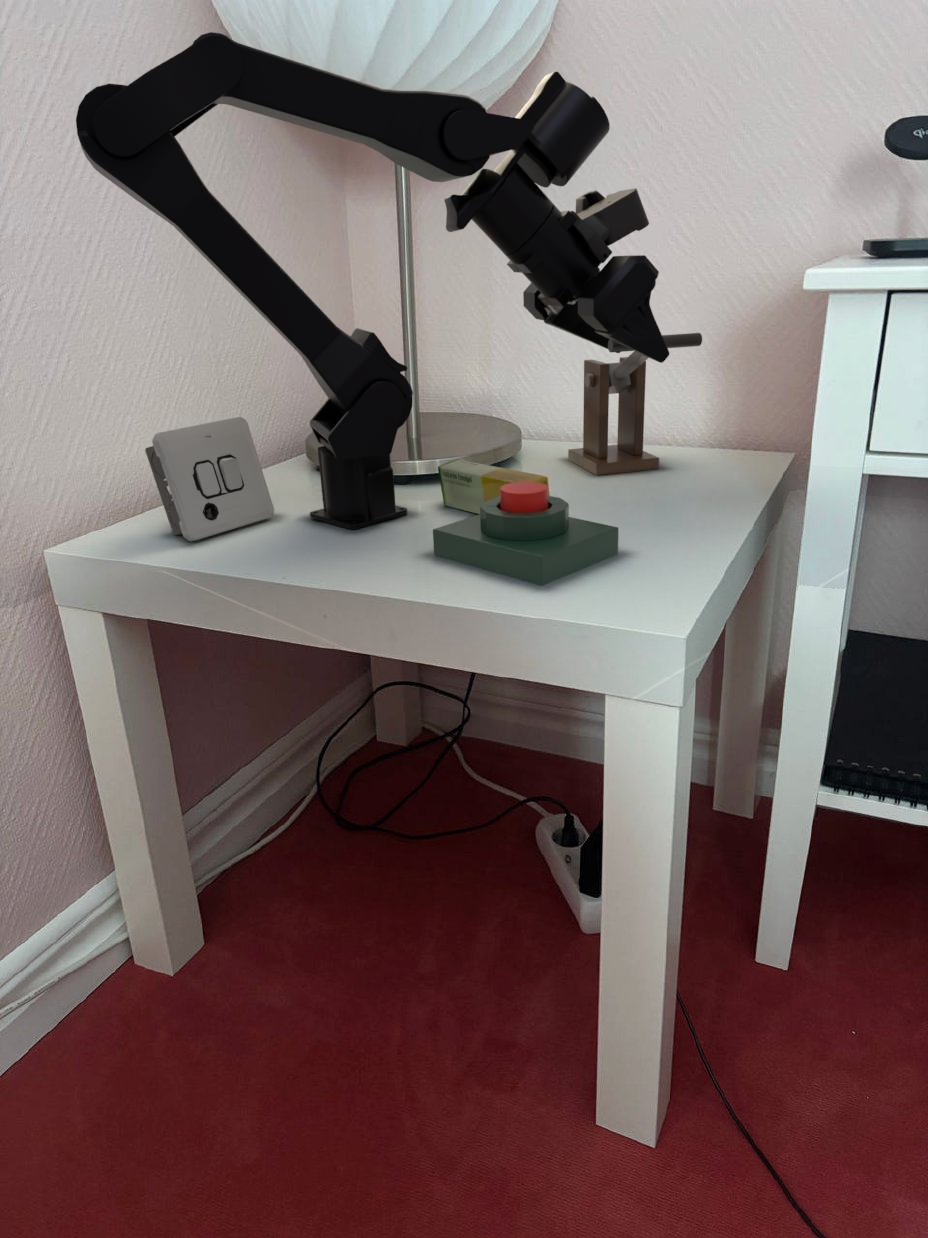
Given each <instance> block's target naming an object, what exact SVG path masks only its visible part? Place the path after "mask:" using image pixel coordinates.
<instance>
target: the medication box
mask: <svg viewBox="0 0 928 1238" xmlns="http://www.w3.org/2000/svg"><path fill="white" fill-rule="evenodd" d="M437 472H438V478H439V482H440V490H441V495H442V501H443V507H449V508H454V509H457V510H462V511H466V512H470V513H473V514H477V515H479V514H480V507H481V506H482V504H483V503H484V502H485V501H487V500H491V499H494V498H497V497H500V488H501V486H503V485H506V484H509V483H515V482H537V483H542V484H545V485H547V486H548V496H551V493H550V485H549V477H548V476H546V475H542V474H536V473H531V472H525V471H520V470H516V469H511V468H510V469H509V468H504V467H499V466H495V465H489V464H485V463H484V464H483V463H478V462H472V461H467V460H463V459H459V458H456V459H454V460H450V461H448V462H445V463H443V464H441V465H438V466H437Z"/></svg>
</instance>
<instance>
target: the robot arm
mask: <svg viewBox="0 0 928 1238" xmlns="http://www.w3.org/2000/svg"><path fill="white" fill-rule="evenodd" d="M531 95H532V96H531V97H530V98H529V99H528V100H527V102H526V103H525V105H524V106H523V107H522V108H521V110H520V111H518V113H517V114H516V116H515V117H512V116H507V115H502V114H495V113H489V112H487V109H486V107H485V106H484V105H483V104H482V103H481V102H480V101H479V100H477V99H475V98H474V97H471V96H469V95H466V94H459V93H450V92H441V91H433V90H399V89H398V90H396V89H387V88H381V87H378V86H375V85H372V84H368V83H366V82H363V81H359V80H355V79H352V78H349V77H346V76H343V75H340V74H337V73H334V72H330V71H328V70H324V69H321V68H318V67H315V66H312V65H309V64H305V63H303V62H299V61H296V60H294V59H293V60H292V59H289V58H286V57H285V56H284V57H283V56H280V55H277V54H274V53H271V52H268V51H265V50H261V49H258V48H255V47H252V46H250V45H246V44H243V43H239V42H237V41H235V40H234V39H232V38H230V37H229V36H228V35H226V34H224V33H220V32H212V31H211V32H210V31H209V32H207V33H203V34H200V35H199V36H198V37H197V38H196V39H195V40H194V41H193V42H192V44H191V45H190V46H188V47H186V48H185V49H184V50H182V51H180V52H179V53H177V54H176V55H174V56H172V57H170V58H168V59H167V60H165V61H164V62H162V63H160V64H158V65H156V66H155V67H153V68H151V69H149V70H148V71H146V72H144V73H143V74H142V75H140V76H139V77H138V78H136V79H134V80H133V81H132V82H130V83H129V84H127V85H126V84H120V83H119V84H118V83H105V84H102V85H98V86H95V87H94V88H93V89H91V90H90V91H88V92H87V93H86V94H85V95H84V96H83V98H82V100H81V102H80V103H79V105H78V107H77V112H76V113H77V114H76V117H75V123H76V124H75V125H76V133H77V137H78V138H77V139H78V141H79V144H80V147H81V150H82V152H83V154H84V156H85V158H86V159H87V161H88V162H89V164H90V165H91V166H92V167H93V169H94V170H95V171H97V172H98V173H99V174H100V175H102V176H103V177H104V178H106V179H107V180H108V181H110V182H111V183H112V184H113V185H114V186H116V187H118V188H119V189H120V190H122V191H123V192H124V193H126V194H127V195H129V196H130V197H131V198H132V199H134V200H136V201H137V202H138V203H140V204H141V205H143V206H144V207H146V208H147V209H149V211H151V212H152V213H154V214H156V215H157V216H158V217H160V218H162V219H163V220H165V221H166V222H167V223H169V224H170V225H171V226H173V228H175V230H176V231H178V233H179V234H181V236H182V237H183V238H185V240H187V241H188V243H189V244H190V245H191V246H192V247H193V248H194V249H195V250H196V251H197V252H198V253H199V254H200V255H201V256H202V257H203V258H204V260H206V261H207V262H208V263H209V264H210V265H211V266H212V268H214V269H215V270H216V271H217V272H218V273H219V274H220V275H221V276H222V277H223V278H224V279H225V280H226V281H227V282H228V283H229V284H230V285H231V287H233V289H235V290H236V291H237V292H238V293H239V294H240V296H242V297H243V298H244V299H245V300H246V302H247V303H249V304H250V305H251V307H252V308H254V310H255V311H256V312H257V313H259V315H260V316H261V317H262V318H263V319H264V320H265V321H266V322H267V323H268V324H269V325H270V326H271V327H272V328H273V329H274V330H275V331H276V332H277V333H278V334H279V335H280V336H281V337H282V338H283V339H284V340H285V341H286V342H287V343H288V344H289V345H290V346H291V347H292V348H293V349H294V350H295V352H297V353H298V354H299V355H300V357H301V358H302V360H303V361H304V363H305V365H306V366H307V368H308V369H309V371H310V373H311V375H312V376H313V377H314V380H315V381H316V382H317V384H318V385H319V387H320V388H321V390H322V391H323V392H324V394H325V395H326V397H327V399H326V401H324V403H322V406H321V407H319V409H318V410H317V412H316V413H315V414H314V415H313V417H312V418H311V419H310V421H309V426H310V428H311V430H312V432H313V434H314V437H315V438H316V439H315V440H316V441H317V442H318V443H319V444H322V446H318V447H317V456H318V457H317V458H318V465H319V475H320V477H319V478H320V485H321V496H322V505H323V508H320V509H317V510H312V511H310V512H309V517H310V519H313V520H317V521H321V522H324V523H327V524H331V525H334V526H339V527H343V528H346V529H349V530H357V529H360V528H361V529H362V528H363V527H368V526H371V525H374V524H378V523H381V522H384V521H388V520H391V519H395V518H398V517H402V516H405V515H407V514H408V508H407V507H405V506H400V505H396V493H395V478H394V469H393V468H392V462H391V460H392V459H391V454H392V452H393V448H394V444H395V440H396V437H397V434H398V430H399V429H400V428H402V426H404V424H405V423H406V421H407V420H408V419H409V417H410V414H411V411H412V408H413V395H414V391H413V389H412V385H411V384H410V383H409V381H408V379H407V378H406V376H405V375H404V374H402V373H403V372H406V371H407V370H408V366H406V365H405V364H403V363H400V362H398V361H397V359H395V358H393V357H392V356H391V355H390V353H389V352H388V351H387V350H388V349H386V347H385V346H384V344H383V343H382V341H381V340H380V338H379V337H378V336H377V334H375V332H373V331H370V330H366V329H362V328H358V327H355V329H354V330H353V332H352V333H351V335H349V334H348V333H346V332H345V331H344V330H342V329H341V328H339V327H338V326H337V325H336V324H335V323H334V322H333V321H332V320H331V318H329V317H328V315H327V314H326V313H325V312H324V311H323V310H322V309H321V308H320V306H318V305H317V304H316V303H315V302H314V301H313V300H312V298H311V297H310V296H309V295H308V294H307V293H306V292H305V291H304V290H303V289H302V288H301V287H300V286H299V285H298V283H296V282H295V280H294V279H293V278H292V277H291V276H290V275H289V274H288V273H287V272H286V270H285V269H284V268H282V266H280V264H279V263H278V262H276V260H275V259H274V258H273V257H272V256H271V255H270V254H269V253H268V252H267V250H266V249H264V248H263V247H262V245H261V244H260V243H259V242H258V241H257V240H256V239H255V238H254V237H253V236H252V235H251V234H250V233H249V231H248V230H246V229H245V227H244V226H243V225H242V224H241V223H240V222H239V221H238V220H237V219H236V218H235V217H234V215H233V214H232V213H230V211H229V210H228V209H227V208H226V207H225V206H224V205H223V204H222V203H221V202H220V201H219V199H218V198H216V197H215V195H213V193H212V192H211V191H210V190H209V189H208V188H207V186H206V184H205V183H204V181H203V180H202V177H200V175H199V174H198V172H197V170H196V169H195V167H194V165H193V163H192V162H191V160H190V159H189V157H188V155H187V154H186V152H185V150H184V148H183V146H182V145H181V143H180V142H179V141H178V139H177V138H176V136H178V135H179V134H180V133H182V132H183V131H184V130H186V129H187V128H189V127H190V126H191V125H192V124H193V123H195V122H196V121H198V120H199V119H200V118H202V117H203V116H204V115H206V114H207V113H208V112H210V111H211V110H212V109H214V108H215V107H217V106H219V105H228V106H230V107H235V108H238V109H241V110H245V111H248V112H252V113H255V114H259V115H263V116H265V117H269V118H273V119H274V120H275V119H276V120H280V121H282V122H286V123H289V124H293V125H295V126H299V127H303V128H307V129H310V130H313V131H317V132H320V133H324V134H327V135H330V136H334V137H338V138H341V139H345V140H348V141H352V142H355V143H357V144H362V145H364V146H366V147H368V148H370V149H372V150H374V151H376V152H378V153H379V154H381V155H382V156H384V157H385V158H386V159H389V160H390V161H391V162H392V163H394V164H396V165H398V166H400V167H402V168H403V169H406V170H408V171H409V172H411V173H413V174H415V175H418V176H419V177H421V178H423V179H425V180H427V181H430V182H434V183H435V182H436V183H446V182H450V181H454V180H459V179H462V178H465V177H471V176H474V174H476V173H477V172H478V173H477V174H476V175H475V177H474V178H473V179H472V180H471V182H470V183H469V184H468V185H467V187H466V188H465V189H464V190H463V192H462V193H461V194H451V195H448V196H446V197H444V203H445V208H446V219H445V221H446V222H445V229H446V231H447V232H448V233H453V232H458V231H461V230H464V229H465V228H466V227H467V225H468V224H469V223H470V222H471V221H472V222H473V223H474V224H475V225H476V226H477V227H478V228H479V229H480V230H481V231H482V232H483V233H484V235H486V236H487V238H488V239H489V240H490V241H491V242H492V243H493V244H494V245H495V246H496V248H498V249H499V250H500V251H501V252H502V253H503V255H505V256H506V258H507V259H508V262H507V263H506V265H507V267H509V268H510V270H512V271H513V273H518V274H519V273H520V274H523V276H524V277H526V279H527V280H528V281H529V282H530V283H529V285H528V286H527V287H526V288H525V289H524V291H523V293H522V295H523V297H522V298H523V307H524V308H525V309H526V310H527V311H528V313H530V314H531V315H532V317H534V319H535V320H540V321H543V323H544V324H546V325H549V326H551V327H554V328H556V329H558V330H560V331H561V330H562V331H564V332H566V333H569V334H571V335H573V336H575V337H578V338H579V339H582V340H585V341H588V342H590V343H592V344H593V345H597V346H599V347H602V348H604V349H606V350H608V341H609V339H611V340H613V341H615V342H617V343H619V344H621V345H623V346H626V347H628V348H630V349H632V350H634V351H636V352H638V353H640V354H642V355H644V356H646V357H649V358H648V359H651V360H653V361H655V362H658V363H661V364H662V363H664V362H665V361H666V360H667V359H668V357H669V356H670V351H669V348H667V346H666V344H665V341H664V339H663V337H662V335H663V334H662V332H661V330H660V328H659V325H658V323H657V321H656V318H655V316H654V313H653V311H652V307H651V304H650V303H651V295H652V292H653V290H654V289H655V287H656V285H657V279H658V277H659V274H660V271H659V270H658V269H657V267H655V265H654V264H653V263H652V262H651V261H650V259H649V258H648V256H646V255H645V254H642V255H637V254H636V255H613V256H612V257H611V258H610V259H609V260H608V258H609V257H610V256H611V255H612V254H613V251H612V249H611V248H610V247H609V246H612V245H613V244H615V243H617V242H619V241H620V240H622V239H624V238H625V237H627V236H628V235H631V234H632V233H634V232H636V231H637V232H640V231H642V230H643V229H646V227H648V226H649V225H650V222H649V219H648V216H647V214H646V213H647V212H646V211H645V208H644V205H643V202H642V200H641V197H640V194H639V191H638V189H637V188H636V187H635V188H630V189H629V188H628V189H623V190H618V191H616V192H614V193H609V194H607V195H606V197H605V196H604V195H602V194H601V192H599V191H598V190H590V191H587V192H585V193H584V194H582V195H581V196H579V197H577V198H575V211H574V210H562V211H561V210H560V209H559V208H558V207H557V206H556V205H555V204H554V202H553V201H552V200H551V199H550V198H549V197H548V196H547V194H546V193H545V192H544V191H543V190H542V189H541V188H540V187H542V188H546V189H547V188H549V187H550V186H551V185H554V186H556V187H565V186H566V185H567V184H568V183H569V182H570V180H571V179H572V178H573V177H574V175H575V174H576V173H577V172H578V171H579V169H580V168H581V167H582V165H583V164H584V163H585V162H586V160H587V159H588V158H589V157H590V156H591V154H592V153H593V152H594V151H595V150H596V149H597V147H598V146H599V145H600V143H601V142H602V141H603V139H605V137H606V136H607V135H608V134H609V132H610V129H611V128H610V121H609V117H608V114H607V113H606V111H605V109H604V108H603V106H602V105H601V104H600V102H599V101H598V99H596V97H595V96H590V95H589V94H588V93H587V92H586V91H584V90H583V89H582V88H581V87H579V86H578V85H575V84H574V83H571V82H569V81H566V80H565V78H564V77H563V76H562V75H561V73H560V72H559V71H555V70H554V71H553V72H550V73H548V74H546V75H544V76H543V78H542V79H541V80H540V82H539V83H538V84H537V86H536V87H535V89H534V91H533V94H531ZM508 151H509V152H508ZM505 152H508V153H507V154H506V155H505V157H504V158H503V159H502V160H501V162H500V163H499V164H498V166H496V168H494V170H493V169H489V168H484V166H485V165H486V164H487V162H488V161H489V159H490V157H491V156H494V155H495V156H496V155H497V154H498V155H499V154H501V153H505ZM539 186H540V187H539ZM607 260H608V261H607ZM606 261H607V263H606V264H605V265H604V266H603V267H602V269H600V265H601V264H604V263H605V262H606ZM634 351H633V352H634ZM615 353H616V354H620V353H621V352H615Z"/></svg>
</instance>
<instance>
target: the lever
mask: <svg viewBox="0 0 928 1238" xmlns="http://www.w3.org/2000/svg"><path fill="white" fill-rule="evenodd" d="M662 337H663V339H664V341H665V344H666V346H667V348H668V349H678V348H692V347H700V346H701V345H702V343H703V335H702V333H701V332H690V333H688V332H687V333H677V334H675V333H674V334H662ZM607 350H608V352H609V353H616V352H620V353H622V352H623V353H624V352H632V353H630V355H628V356H626V357H627V358H626V359H625V360H624V361H623V362H620V361H619V362H620V363H619V362H609V363H608V364H609V395H613V394H614V395H615V394H619V393H621V392H622V391H624V390H625V389H626V388H627V387H628V386H630V385H631V382H630V376H629V374H630V373H632V372H633V371H634V370H635V369H636V368H638V367H639V366H640V365H641V364H642V363H643V362H645V361H646V362H647V360H648V359H650V358H649V357H646V356H644V355H642V354H640V353H638V352H636V351H634V350H632V349H630V348H628V347H626V346H623V345H621V344H619V343H617V342H615V341H613V340H611V339H609V341H608V349H607Z"/></svg>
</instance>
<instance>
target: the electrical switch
mask: <svg viewBox="0 0 928 1238" xmlns="http://www.w3.org/2000/svg"><path fill="white" fill-rule="evenodd" d="M151 443H152V446H148V447H145V449H144V452H145V454H146V457H147V461H148V464H149V466H150V469H151V472H152V475H153V478H154V481H155V484H156V487H157V490H158V493H159V496H160V499H161V502H162V505H163V508H164V512H165V514H166V517H167V520H168V523H169V526H170V529H171V531H172V535H173V536H177V535H182V537H183V538H184V539H186V540H187V541H188V542H196V541H199V540H203V539H206V538H208V537H212V536H216V535H219V534H221V533H224V532H229V531H231V530H235V529H238V528H241V527H244V526H248V525H251V524H255V523H258V522H261V521H264V520H267V519H270V518H272V517H273V515H274V512H275V508H274V507H275V506H274V505H273V500H272V498H271V497H272V496H271V494H270V491H269V488H268V485H267V482H266V478H265V475H264V472H263V469H262V465H261V462H260V458H259V455H258V452H257V449H256V446H255V444H254V443H255V442H254V439H253V436H252V433H251V430H250V427H249V423H248V421H247V420H246V419H245V418H244V417H242V416H237V417H230V418H225V419H221V420H215V421H212V422H211V421H210V422H206V423H199V424H195V425H190V426H185V427H180V428H176V429H175V428H174V429H170V430H165V431H160V432H157V433H155V434H154V435H153V438H152V441H151ZM168 488H169V490H168Z"/></svg>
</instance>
